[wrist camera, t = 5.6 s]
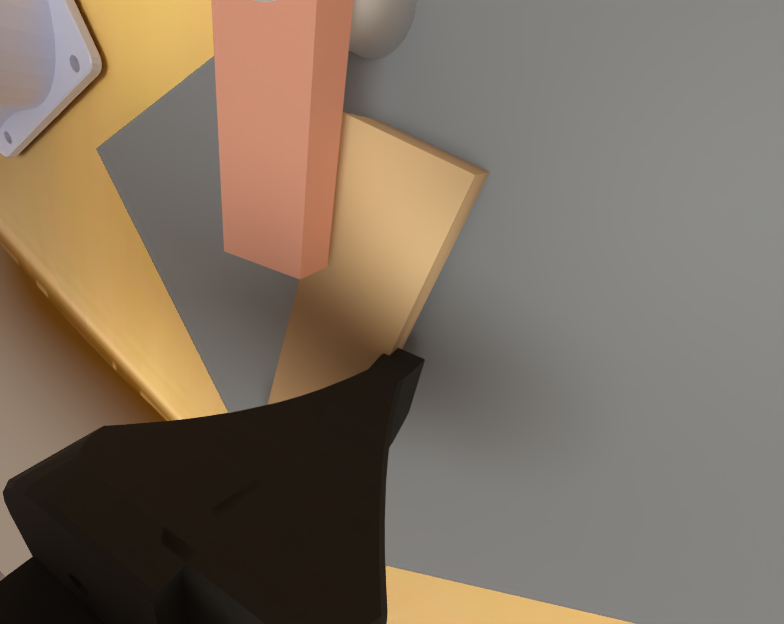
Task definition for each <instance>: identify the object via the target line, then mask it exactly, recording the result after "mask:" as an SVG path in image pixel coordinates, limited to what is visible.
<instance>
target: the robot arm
mask: <svg viewBox="0 0 784 624" xmlns="http://www.w3.org/2000/svg"><path fill="white" fill-rule="evenodd" d="M101 69H102V62H101V58H100V55H99V52H98V50H97V48H96V46H95V44H94V42H93V39H92V37H91V35H90V33H89V31H88V29H87V27H86V24H85V22H84V20H83V18H82V16H81V14H80V12H79V9H78V7H77V5H76V3H75V1H74V0H0V153H1V154H2V155H3V156H5V157H16V156H17V155H18V154H19V153H20V152H21V151H22V150H23V149H24V148H25V147H26V146H27V145H28V144H29V143H30V142H31V141H32V140H33V139H34V138H35V137H36V136H38V135H39V134H40V133H41V132H42V131H43V130H44V129H45V128H46V127H47V126H48V125H49V124H50V123H51V122H52V121H53V120H54V119H55V118H56V117H57V116H58V115H59V114H60V113H61V112H62V111H63V110H64V109H65V108H66V107H67V106H68V105H69V104H70V103H71V102H72V101H73V100H74V99H75V98H76V97H77V96H78V95H79V94H80V93H81V92H82V91H83V90H84V89H85V88H86V87H87V86H88V85H89V84H90V83H91V82H92V81H93V80H94V79H95V78H96V77H97V76H98V75H99V73H100V72H101ZM424 361H425V359H423V358H421V357H419V356H416V355H414V354H412V353H409V352H407V351H405V350H402V349H400V348H397V349H396V350H395V351H394V352H393V353H392V354H391V355H390V356H389V355H387V354H384V353H383V354H382V355H381V356H380V357H379V358H378V359H377V360H376V361H375V362H374V363H373V364H372V365H371V367H370V368H369V369H367V370H365V371H363V372H361V373H358V374H356V375H354V376H352V377H350V378H347V379H345V380H342V381H340V382H337V383H335V384H332V385H330V386H327V387H325V388H322V389H319V390H317V391H314V392H311V393H308V394H305V395H302V396H299V397H295V398H292V399H288V400H285V401H281V402H277V403H273V404H268V405H264V406H259V407H255V408H250V409H245V410H241V411H236V412H231V413H225V414H218V415H212V416H205V417H198V418H191V419H183V420H174V421H165V422H151V423H139V424H127V425H113V426H103V427H101V428H99V429H97V430H96V431H93V432H92V433H90V434H88V435H87V436H85V437H83V438H81V439H80V440H78V441H76V442H74V443H73V444H71V445H69V446H67V447H66V448H64V449H62V450H60V451H59V452H57V453H55V454H53V455H52V456H50V457H48V458H47V459H45V460H43V461H41V462H39V463H38V464H36V465H34V466H33V467H31V468H29V469H27V470H25V471H24V472H22V473H20V474H18V475H17V476H15V477H13V478H11V479H10V480H9V481H8V482H7V485H6V487H5V489H4V491H3V496H4V501H5V503H6V505H7V508H8V510H9V512H10V514H11V516H12V518H13V520H14V522H15V524H16V526H17V527H18V529H19V531H20V533H21V535H22V537H23V539H24V541H25V543H26V545H27V546H28V548H29V550H30V552H31V554H32V556H33V557H32V558H30V559H29V560H28V561H26V562H25V563H24V564H22V565H21V566H20V567H18V568H17V569H16V570H14V571H13V572H11V573H10V574H9V575H7V576H6V577H5V576H4V575H3V574H2V573H1V572H0V624H386V623H387V595H386V570H385V503H386V478H387V465H388V455H389V447H390V446H391V444H392V443H393V441H394V439H395V438H396V436H397V434H398V432H399V430H400V428H401V427H402V425H403V423H404V421H405V419H406V417H407V415H408V413H409V410H410V407H411V404H412V401H413V397H414V394H415V391H416V388H417V384H418V381H419V378H420V374H421V371H422V368H423V365H424Z"/></svg>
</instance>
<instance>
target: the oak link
mask: <svg viewBox="0 0 784 624" xmlns="http://www.w3.org/2000/svg"><path fill="white" fill-rule="evenodd" d="M489 173H490V172H489V171H487V170H484V169H482V168H480V167H478V166H476V165H474V164H472V163H469V162H467V161H465V160H463V159H461V158H459V157H457V156H454V155H452V154H450V153H448V152H446V151H444V150H442V149H439V148H437V147H435V146H433V145H431V144H429V143H427V142H425V141H422V140H420V139H418V138H416V137H414V136H412V135H410V134H407V133H405V132H403V131H401V130H399V129H397V128H395V127H392V126H390V125H388V124H386V123H384V122H382V121H380V120H377V119H372V118H367V117H363V116H358V115H354V114H349V113H345V112H343V113H342V123H341V133H340V144H339V154H338V164H337V174H336V184H335V195H334V205H333V215H332V225H331V236H330V246H329V256H328V266H327V267H326V268H323V269H321V270H319V271H317V272H315V273H313V274H311V275H309V276H306V277H304V278H302V279H299V283H298V287H297V291H296V294H295V298H294V302H293V306H292V310H291V314H290V318H289V322H288V326H287V330H286V334H285V338H284V342H283V346H282V350H281V353H280V357H279V361H278V365H277V369H276V373H275V377H274V381H273V385H272V389H271V393H270V397H269V401H268V404H273V403H277V402H281V401H285V400H288V399H292V398H295V397H299V396H302V395H305V394H308V393H311V392H314V391H317V390H319V389H322V388H325V387H327V386H330V385H332V384H335V383H337V382H340V381H342V380H345V379H347V378H350V377H352V376H354V375H356V374H358V373H361V372H363V371H365V370H367V369H369V368H370V367H371V365H372V364H373V363H374V362H375V361H376V360H377V359H378V358H379V357H380V356H381V355H382V354H383V353H384V354H387V355H389V356H390V355H391V354H392V353H393V352H394V351H395V350H396V349H397V348H400V349H403V346H404V344H405V342H406V340H407V338H408V336H409V334H410V332H411V330H412V328H413V326H414V324H415V322H416V320H417V318H418V316H419V314H420V312H421V310H422V308H423V306H424V304H425V302H426V300H427V298H428V296H429V294H430V292H431V290H432V288H433V286H434V284H435V282H436V280H437V278H438V276H439V274H440V272H441V270H442V268H443V266H444V264H445V262H446V260H447V258H448V256H449V254H450V252H451V250H452V248H453V246H454V244H455V242H456V240H457V238H458V236H459V234H460V232H461V230H462V228H463V226H464V223H465V221H466V219H467V217H468V215H469V213H470V211H471V209H472V207H473V205H474V203H475V201H476V199H477V197H478V195H479V193H480V191H481V189H482V187H483V185H484V183H485V181H486V179H487V177H488V175H489Z"/></svg>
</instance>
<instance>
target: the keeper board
mask: <svg viewBox="0 0 784 624" xmlns="http://www.w3.org/2000/svg"><path fill="white" fill-rule="evenodd" d="M212 19H213V39H214V56H213V57H212V58H211V59H210V60H208V61H207V62H206V63H205V64H203V65H202V66H201V67H200V68H198V69H197V70H196V71H194V72H193V73H192V74H191V75H189V76H188V77H187V78H186V79H184V80H183V81H182V82H180V83H179V84H178V85H177V86H175V87H174V88H173V89H172V90H170V91H169V92H168V93H166V94H165V95H164V96H163V97H161V98H160V99H159V100H158V101H156V102H155V103H154V104H152V105H151V106H150V107H149V108H147V109H146V110H145V111H144V112H142V113H141V114H140V115H138V116H137V117H136V118H135V119H133V120H132V121H131V122H130V123H128V124H127V125H126V126H124V127H123V128H122V129H121V130H119V131H118V132H117V133H116V134H114V135H113V136H112V137H111V138H109V139H108V140H107V141H105V142H104V143H103V144H102V145H100V146H99V147H98V148H97V151H98V153H99V155H100V157H101V159H102V161H103V163H104V165H105V167H106V169H107V171H108V173H109V175H110V177H111V179H112V181H113V183H114V185H115V187H116V189H117V191H118V193H119V195H120V197H121V199H122V201H123V203H124V205H125V207H126V209H127V211H128V213H129V215H130V217H131V219H132V221H133V223H134V225H135V227H136V229H137V231H138V233H139V235H140V237H141V239H142V241H143V243H144V245H145V247H146V249H147V251H148V253H149V255H150V257H151V259H152V261H153V263H154V265H155V267H156V269H157V271H158V273H159V275H160V277H161V279H162V281H163V283H164V285H165V287H166V289H167V291H168V293H169V295H170V297H171V299H172V301H173V303H174V305H175V307H176V309H177V311H178V313H179V315H180V317H181V319H182V321H183V323H184V325H185V327H186V329H187V331H188V333H189V335H190V337H191V339H192V341H193V343H194V345H195V347H196V349H197V351H198V353H199V355H200V357H201V359H202V361H203V363H204V365H205V367H206V369H207V371H208V373H209V375H210V377H211V379H212V381H213V383H214V385H215V387H216V389H217V391H218V393H219V395H220V397H221V399H222V401H223V403H224V405H225V407H226V409H227V411H228V413H231V412H236V411H241V410H245V409H250V408H255V407H259V406H264V405H268V401H269V397H270V393H271V389H272V385H273V381H274V377H275V373H276V369H277V365H278V361H279V357H280V353H281V350H282V346H283V342H284V338H285V334H286V330H287V326H288V322H289V318H290V314H291V310H292V306H293V302H294V298H295V294H296V291H297V287H298V283H299V279H302V278H304V277H306V276H309V275H311V274H313V273H315V272H317V271H319V270H321V269H323V268H326V267H327V266H328V256H329V246H330V236H331V225H332V215H333V205H334V195H335V184H336V174H337V164H338V154H339V144H340V133H341V123H342V113H343V112H345V113H349V114H354V115H358V116H363V117H367V118H372V119H377V120H380V121H382V122H384V123H386V124H388V125H390V126H392V127H395V128H397V129H399V130H401V131H403V132H405V133H407V134H410V135H412V136H414V137H416V138H418V139H420V140H422V141H425V142H427V143H429V144H431V145H433V146H435V147H437V148H439V149H442V150H444V151H446V152H448V153H450V154H452V155H454V156H457V157H459V158H461V159H463V160H465V161H467V162H469V163H472V164H474V165H476V166H478V167H480V168H482V169H484V170H487V171H489V172H490V173H489V175H488V177H487V179H486V181H485V183H484V185H483V187H482V189H481V191H480V193H479V195H478V197H477V199H476V201H475V203H474V205H473V207H472V209H471V211H470V213H469V215H468V217H467V219H466V221H465V223H464V226H463V228H462V230H461V232H460V234H459V236H458V238H457V240H456V242H455V244H454V246H453V248H452V250H451V252H450V254H449V256H448V258H447V260H446V262H445V264H444V266H443V268H442V270H441V272H440V274H439V276H438V278H437V280H436V282H435V284H434V286H433V288H432V290H431V292H430V294H429V296H428V298H427V300H426V302H425V304H424V306H423V308H422V310H421V312H420V314H419V316H418V318H417V320H416V322H415V324H414V326H413V328H412V330H411V332H410V334H409V336H408V338H407V340H406V342H405V344H404V346H403V349H402V350H405V351H407V352H409V353H412V354H414V355H416V356H419V357H421V358H423V359H425V361H424V365H423V368H422V371H421V374H420V378H419V381H418V384H417V388H416V391H415V394H414V397H413V401H412V404H411V407H410V410H409V413H408V415H407V417H406V419H405V421H404V423H403V425H402V427H401V428H400V430H399V432H398V434H397V436H396V438H395V439H394V441H393V443H392V444H391V446H390V447H389V455H388V465H387V478H386V503H385V565H386V566H390V567H395V568H399V569H403V570H408V571H412V572H416V573H421V574H425V575H429V576H434V577H438V578H442V579H446V580H451V581H455V582H459V583H464V584H468V585H472V586H477V587H481V588H485V589H490V590H494V591H498V592H503V593H507V594H511V595H515V596H520V597H524V598H528V599H533V600H537V601H541V602H546V603H550V604H554V605H559V606H563V607H567V608H572V609H576V610H580V611H585V612H589V613H593V614H597V615H602V616H606V617H610V618H615V619H619V620H623V621H628V622H632V623H636V624H784V0H212Z"/></svg>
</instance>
